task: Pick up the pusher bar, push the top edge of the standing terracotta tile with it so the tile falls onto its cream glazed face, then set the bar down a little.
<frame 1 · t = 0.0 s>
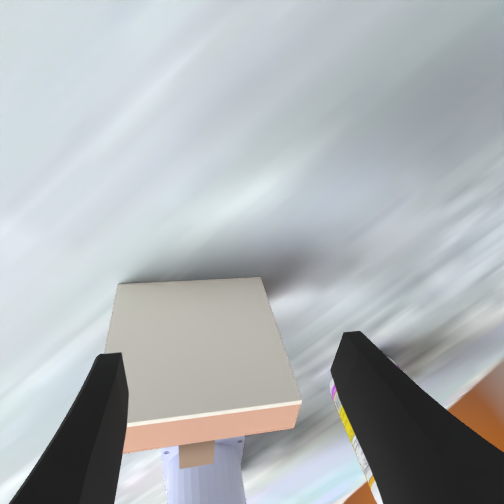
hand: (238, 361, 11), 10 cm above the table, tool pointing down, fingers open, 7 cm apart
glazed tile: (192, 294, 22), on the table
supplement bottle: (359, 372, 32), on the table
pusher bar: (192, 365, 27), on the table
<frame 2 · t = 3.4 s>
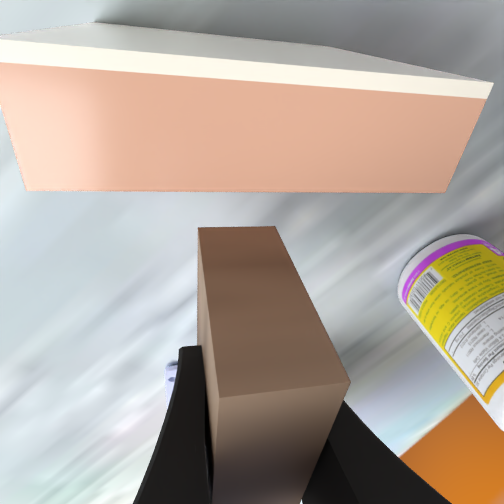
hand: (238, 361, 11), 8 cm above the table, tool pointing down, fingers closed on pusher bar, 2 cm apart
glazed tile: (217, 70, 14), on the table
supplement bottle: (437, 269, 23), on the table
pusher bar: (229, 319, 13), point 7 cm above the table, touching gripper
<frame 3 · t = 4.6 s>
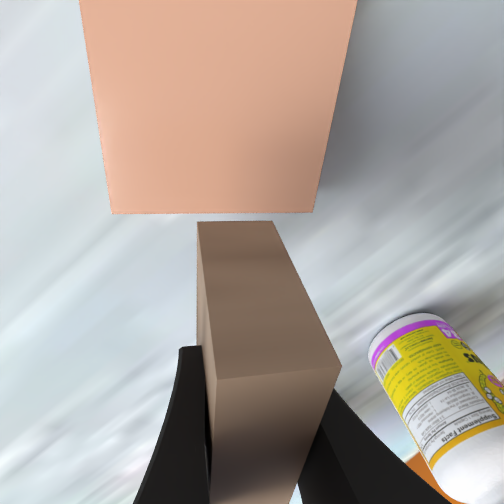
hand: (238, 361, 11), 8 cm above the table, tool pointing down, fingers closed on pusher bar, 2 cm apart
glazed tile: (215, 201, 16), point 1 cm above the table, tilted 90°
supplement bottle: (402, 337, 27), on the table
pusher bar: (228, 312, 13), point 6 cm above the table, touching gripper
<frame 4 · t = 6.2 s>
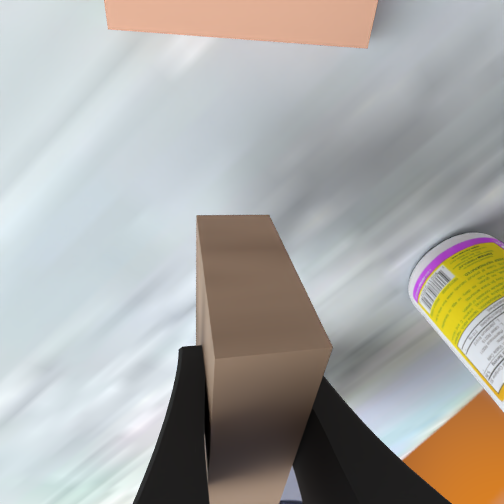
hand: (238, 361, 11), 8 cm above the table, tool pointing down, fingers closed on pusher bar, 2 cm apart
glazed tile: (241, 37, 13), point 1 cm above the table, tilted 90°
supplement bottle: (447, 267, 23), on the table
pusher bar: (227, 304, 13), point 6 cm above the table, touching gripper
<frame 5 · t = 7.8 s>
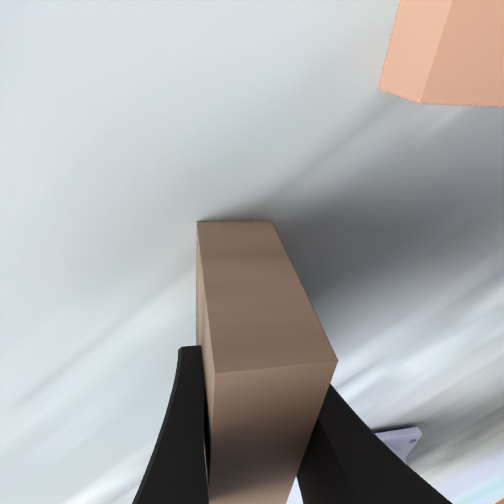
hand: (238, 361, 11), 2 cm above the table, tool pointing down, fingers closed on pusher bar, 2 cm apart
pusher bar: (227, 311, 13), on the table, touching gripper
when the fingers open (2 cm above the table, at t = 8.0 s): pusher bar stays where it is, on the table.
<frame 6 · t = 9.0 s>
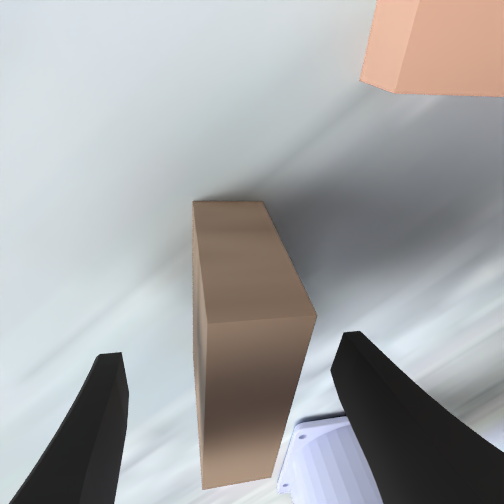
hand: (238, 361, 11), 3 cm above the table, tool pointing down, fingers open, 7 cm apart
pusher bar: (222, 288, 14), on the table
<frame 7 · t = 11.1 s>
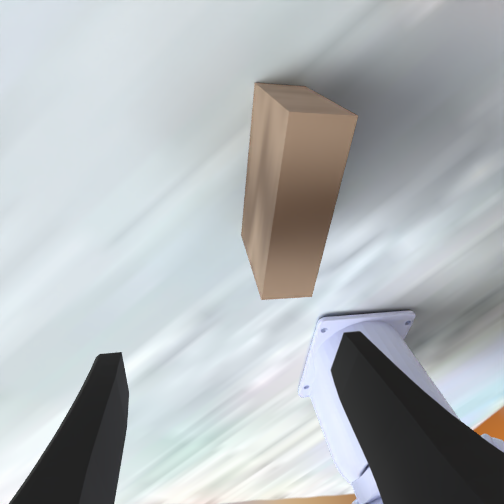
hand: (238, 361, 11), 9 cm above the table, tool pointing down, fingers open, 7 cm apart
pusher bar: (269, 168, 18), on the table
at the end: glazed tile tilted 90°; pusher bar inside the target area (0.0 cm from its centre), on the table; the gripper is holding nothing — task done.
